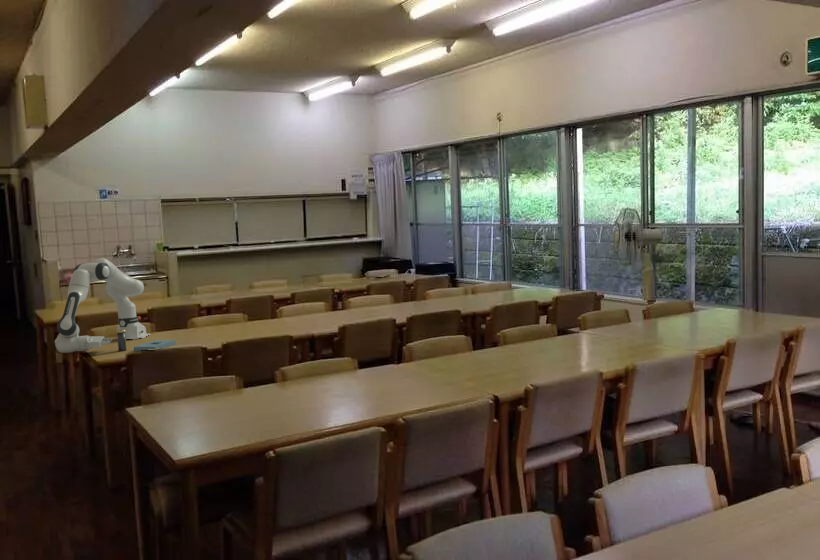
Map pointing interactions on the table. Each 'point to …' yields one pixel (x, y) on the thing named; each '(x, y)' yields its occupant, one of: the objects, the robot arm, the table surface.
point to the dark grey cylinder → (121, 340)
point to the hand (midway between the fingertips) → (111, 340)
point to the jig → (155, 345)
